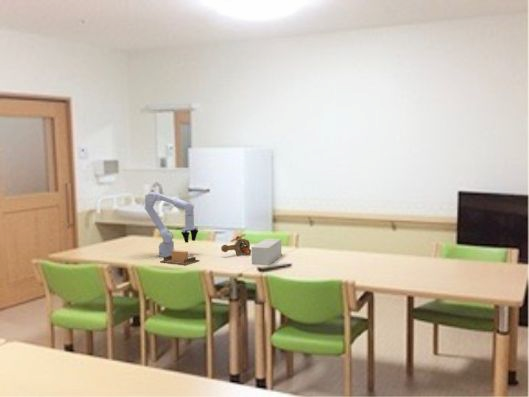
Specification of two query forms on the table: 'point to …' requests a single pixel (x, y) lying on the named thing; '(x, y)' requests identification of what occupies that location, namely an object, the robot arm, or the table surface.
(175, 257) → the tall tan cuboid
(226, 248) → the brown lumpy shape
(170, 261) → the walnut cradle
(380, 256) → the table surface
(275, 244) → the grey rectangular brick
